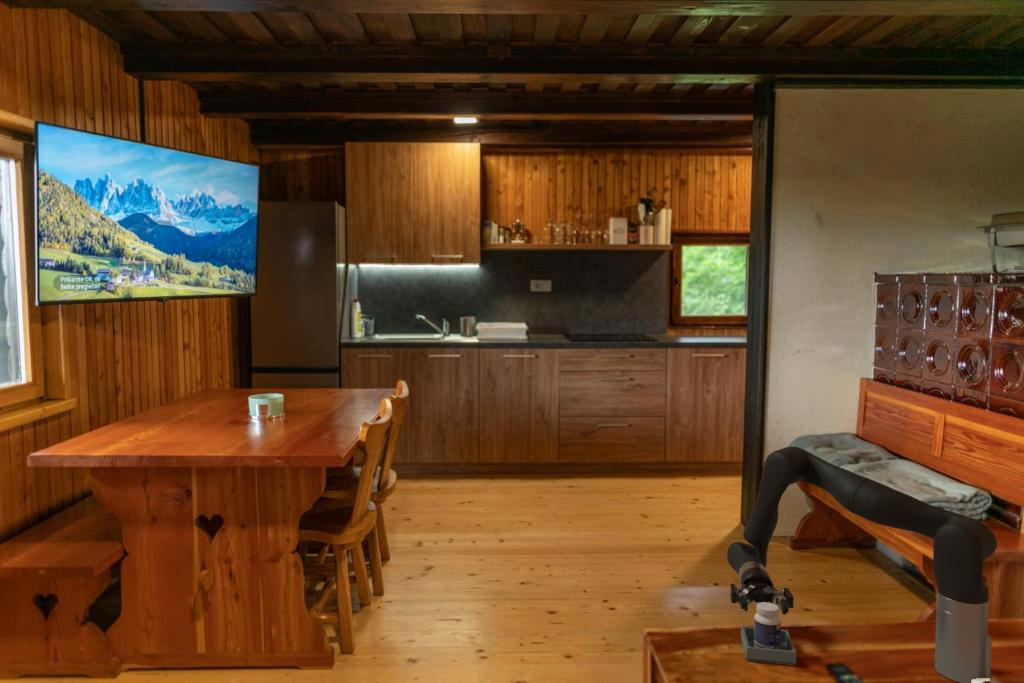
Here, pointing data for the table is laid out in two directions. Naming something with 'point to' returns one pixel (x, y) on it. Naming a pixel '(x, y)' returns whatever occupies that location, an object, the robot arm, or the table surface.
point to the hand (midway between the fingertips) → (765, 609)
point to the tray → (768, 655)
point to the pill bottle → (767, 626)
